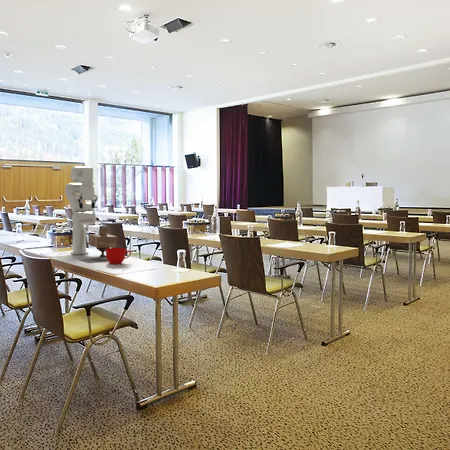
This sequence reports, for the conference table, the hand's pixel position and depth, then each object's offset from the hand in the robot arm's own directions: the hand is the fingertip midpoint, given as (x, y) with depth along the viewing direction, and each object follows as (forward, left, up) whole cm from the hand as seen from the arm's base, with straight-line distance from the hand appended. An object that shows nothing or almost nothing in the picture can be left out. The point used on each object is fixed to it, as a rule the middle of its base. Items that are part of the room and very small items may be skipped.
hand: (87, 208), depth 332 cm
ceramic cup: (+36, +4, -36) cm, 51 cm away
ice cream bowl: (+3, +11, -36) cm, 37 cm away
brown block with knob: (+3, +11, -27) cm, 30 cm away
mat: (+17, -3, -35) cm, 39 cm away
